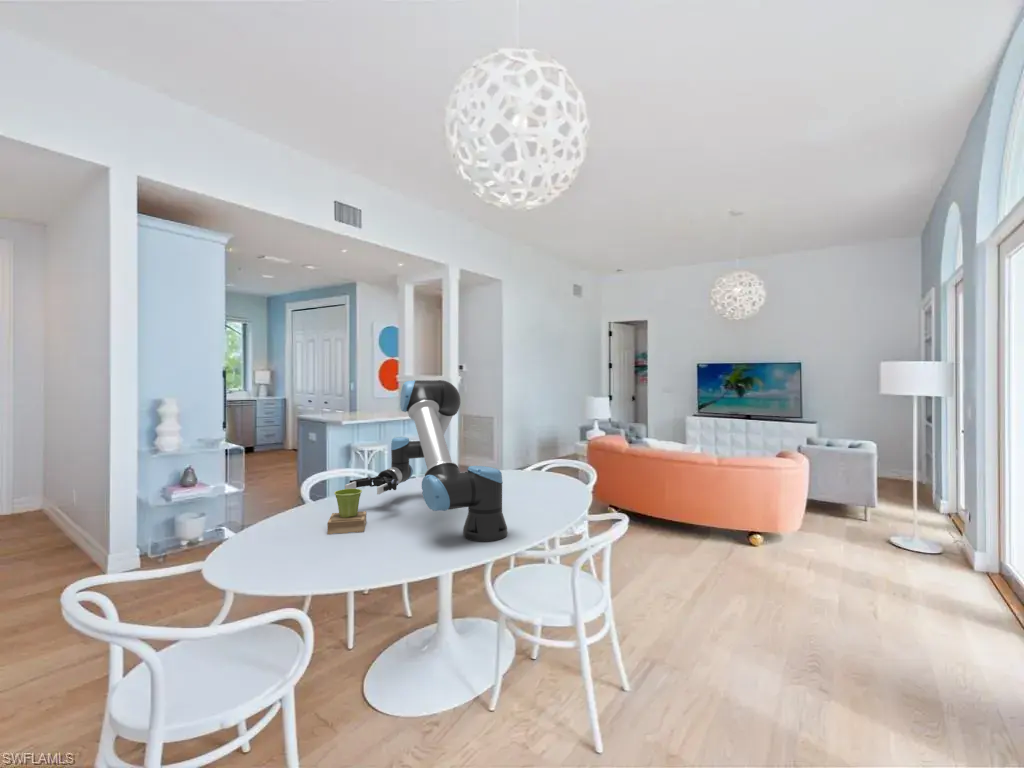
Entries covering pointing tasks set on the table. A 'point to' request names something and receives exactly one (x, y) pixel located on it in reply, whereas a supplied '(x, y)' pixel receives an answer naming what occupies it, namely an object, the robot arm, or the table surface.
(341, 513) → the plant pot
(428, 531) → the table surface
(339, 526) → the oak plinth
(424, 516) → the table surface
